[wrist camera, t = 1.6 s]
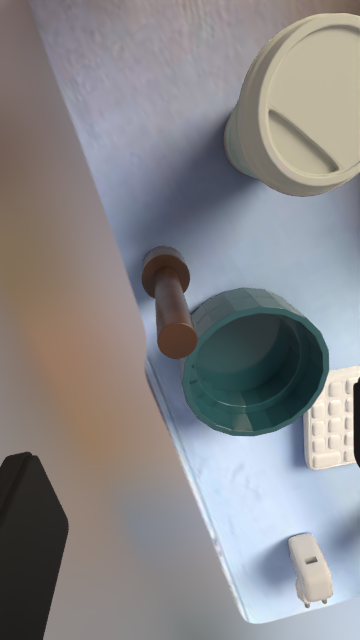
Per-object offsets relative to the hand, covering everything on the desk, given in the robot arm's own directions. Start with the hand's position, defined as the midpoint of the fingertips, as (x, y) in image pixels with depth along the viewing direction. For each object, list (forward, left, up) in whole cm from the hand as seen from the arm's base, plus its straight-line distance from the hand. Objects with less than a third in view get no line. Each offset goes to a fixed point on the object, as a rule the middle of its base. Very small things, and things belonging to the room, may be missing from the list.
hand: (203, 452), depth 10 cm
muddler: (0, 0, -23) cm, 23 cm away
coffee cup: (-9, +10, -23) cm, 27 cm away
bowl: (+10, +6, -23) cm, 26 cm away
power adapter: (+47, +11, -23) cm, 53 cm away
